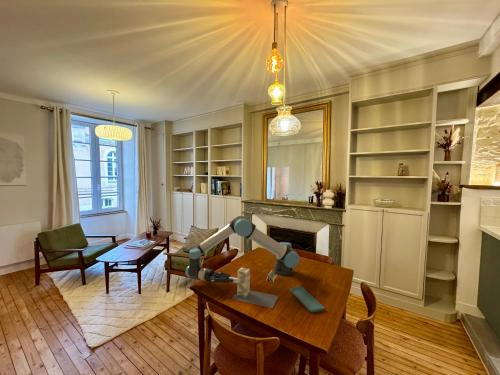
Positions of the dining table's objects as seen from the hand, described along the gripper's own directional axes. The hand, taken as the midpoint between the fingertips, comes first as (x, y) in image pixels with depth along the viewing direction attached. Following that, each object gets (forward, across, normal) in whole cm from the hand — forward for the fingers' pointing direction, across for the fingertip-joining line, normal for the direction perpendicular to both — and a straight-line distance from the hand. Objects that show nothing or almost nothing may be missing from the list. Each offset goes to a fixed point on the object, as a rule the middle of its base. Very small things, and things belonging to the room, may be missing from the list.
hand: (238, 281), depth 142 cm
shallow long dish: (+41, -10, -10) cm, 43 cm away
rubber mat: (+11, 0, -9) cm, 14 cm away
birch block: (+4, 0, -8) cm, 9 cm away
